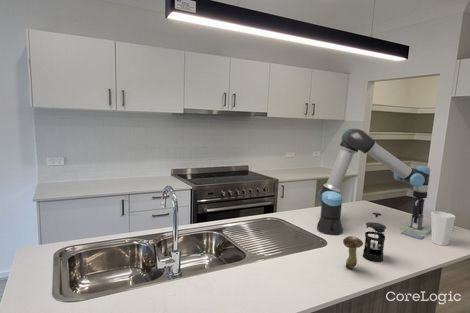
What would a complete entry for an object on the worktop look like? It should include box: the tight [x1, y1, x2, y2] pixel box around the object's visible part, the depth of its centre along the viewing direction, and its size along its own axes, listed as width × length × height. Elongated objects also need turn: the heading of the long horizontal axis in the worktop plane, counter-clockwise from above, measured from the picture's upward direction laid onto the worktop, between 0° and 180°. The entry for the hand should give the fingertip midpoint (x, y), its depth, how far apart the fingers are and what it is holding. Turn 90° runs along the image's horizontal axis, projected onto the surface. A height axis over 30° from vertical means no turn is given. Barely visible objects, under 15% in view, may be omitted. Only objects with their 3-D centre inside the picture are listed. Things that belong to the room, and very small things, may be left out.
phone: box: [400, 230, 426, 241], centre depth 175 cm, size 11×6×1 cm, turn 37°
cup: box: [430, 210, 456, 247], centre depth 163 cm, size 11×10×17 cm
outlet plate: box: [400, 221, 432, 237], centre depth 184 cm, size 14×14×2 cm
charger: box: [410, 213, 424, 230], centre depth 184 cm, size 5×5×8 cm
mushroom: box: [342, 235, 364, 270], centre depth 132 cm, size 9×9×15 cm
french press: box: [362, 212, 387, 263], centre depth 143 cm, size 12×9×23 cm
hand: (416, 226), depth 184 cm, fingers closed on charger, 5 cm apart
